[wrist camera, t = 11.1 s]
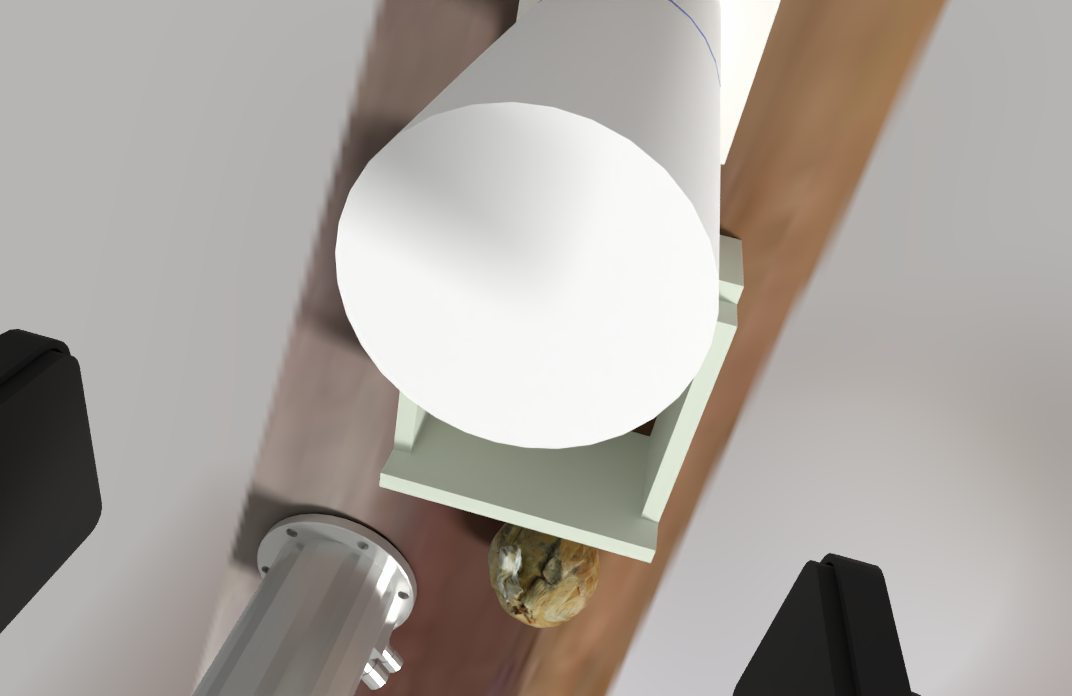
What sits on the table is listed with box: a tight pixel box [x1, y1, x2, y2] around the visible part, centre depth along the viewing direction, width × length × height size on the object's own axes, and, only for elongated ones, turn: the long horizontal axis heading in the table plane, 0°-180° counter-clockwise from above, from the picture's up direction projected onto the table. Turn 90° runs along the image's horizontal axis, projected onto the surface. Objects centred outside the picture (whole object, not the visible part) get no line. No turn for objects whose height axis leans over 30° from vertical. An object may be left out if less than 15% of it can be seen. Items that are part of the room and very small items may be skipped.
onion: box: [488, 522, 599, 627], centre depth 52 cm, size 8×8×8 cm
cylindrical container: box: [335, 0, 721, 449], centre depth 25 cm, size 7×7×25 cm
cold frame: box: [379, 235, 744, 563], centre depth 42 cm, size 15×15×9 cm
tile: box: [516, 0, 781, 164], centre depth 35 cm, size 11×11×1 cm
